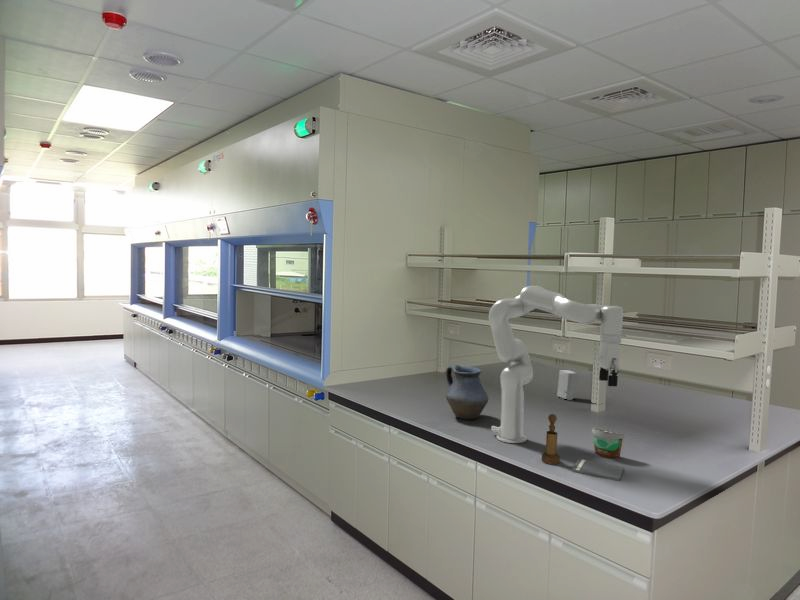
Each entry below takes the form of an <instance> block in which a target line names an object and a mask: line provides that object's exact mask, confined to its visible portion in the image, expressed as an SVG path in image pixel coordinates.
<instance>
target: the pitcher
mask: <svg viewBox="0 0 800 600" xmlns="http://www.w3.org/2000/svg"><path fill="white" fill-rule="evenodd" d="M452 371H453V373H454V378H453V376H452ZM481 372H482V370H481V369H479V368H478V367H473V366H461V365H459V364H456V363H453V364H450V365H448V366H447V368H446V369H445V377H446V381H447V384H448V390H447V392H446V394H445V399H446V401H447V403H448V404H449V406H450V408H451V410H452V413H453V414H454V416H455V417H456V418H458V419H461V420H465V421H466V420H467V421H468V420H469V421H472V420H475V419H477V418H478V417H479V416H480V415H481V414H482V413H483V410H484V409H485V408H486V406H487V405H488V402H489V395H488V394H487V392H486V390H485V389H484V387H483V385H482V382H481V379H480V375H481Z"/></svg>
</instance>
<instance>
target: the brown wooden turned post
mask: <svg viewBox="0 0 800 600" xmlns="http://www.w3.org/2000/svg"><path fill="white" fill-rule="evenodd" d="M547 417H548V422H549V426H548V430H547V431H546V435H545V437H546V439H545V451H544V452H543V453H542V454H541V461H542V462H543V463H545V464H548V465H558V464H560V459H561V456H560V455H559V454H558V453H557V446H558V432H556V431H555V429H556V426H555V423H556V421H558V420H557V416H556V414H554V413H550V414H549V415H548V416H547Z"/></svg>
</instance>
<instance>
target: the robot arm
mask: <svg viewBox="0 0 800 600" xmlns="http://www.w3.org/2000/svg"><path fill="white" fill-rule="evenodd" d="M536 309H537V310H540V311H544V312H547V313H550V314H553V315H555V316H557V317H560V318H562V319H565V320H567V321H572V322H575V323H578V324H582V325H593V324H600V331H599V332H600V333H599V334H600V336H599V342H600V343H599V350H598V358H597V359H598V360H597V365H598V366H599V374H598V375H599V377H598V380H599V381H601V382H602V381H607V386H608V387H617V386H618V378H619V372H620V371H619V369H620V355H621V354H620V344H622V336H623V335H622V334H623V331H622V330H623V319H624V309H623V307H621V306H618V305H602V304H598V303H597V304H596V303H590V304H587V303H586V304H585V303H583V302H582V303H581V302H578V301H574V300H571V299H569V298H566V297H565V296H564V295H563V294H562V293H559V292H556V291H553V290H552V291H551V290H548V289H546V288H544V287H543V286H540V285H527V286H525V287H523V288H522V290H521V291H520V292H519V295H518V296H515V297H513V298H512V297H511V298H502V299H499V300H497V301H496V302H494V303H493V305H492V306H491V307H490V309H489V312H488V322H489V326H490V329H491V333H492V337H493V342H494V346H495V350H496V355H497V357H498V360H500V361H501V362H502V363H506V364H507V363H508V364H510V365H508V366H507V367H504V369H502V371H501V373H500V378H499V379H500V380H499V382H500V390H501V397H500V399H501V402H500V403H501V405H500V425H499V426H496V425H491V428H490V430H491V431H492V432H493V433H496V439H497V440H499V441H500V442H504V443H509V444H522V443H525V442H526V441H527V435H525V434H524V419H525V393H524V387H523V386H525V385H527V384H529V383H530V382H531V381H532V380H533V377H534V370H533V366H532V361H531V358H530V355H529V351H528V347H527V345H526V344H525V343H524V342H523V341H522V340H521V339H519V338H515V335H514V332H513V329H512V326H511V324H510V323H509V319H514V318H520V317H522V316H524V315H526V314H528V313H530V312H532V311H533V310H536Z"/></svg>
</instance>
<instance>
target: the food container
mask: <svg viewBox="0 0 800 600" xmlns="http://www.w3.org/2000/svg"><path fill="white" fill-rule="evenodd" d="M591 434H593V443H594V445H593V446H594V447H593V448H594V453H595V454H594V455H596V454H597V455H596V456H598V455H599V456H598V457H601V458H606V459H617V458H620V457H621V451H622V445H623V439H624V438H626V436H625V432H624V431H622V432H620V433H618V432H614V431H611V430H606V429H603V430H602V429H595V427H593V428H592V430H591Z"/></svg>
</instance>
